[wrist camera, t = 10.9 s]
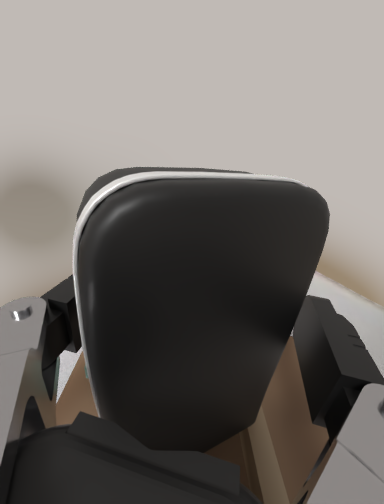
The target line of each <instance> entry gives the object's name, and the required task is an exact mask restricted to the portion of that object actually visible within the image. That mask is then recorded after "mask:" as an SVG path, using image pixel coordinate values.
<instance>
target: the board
mask: <svg viewBox="0 0 384 504" xmlns="http://www.w3.org/2000/svg"><path fill="white" fill-rule="evenodd" d="M80 411H82V412H85V413H87V414H90V415H93V416H96V417H98V413H97V410H96V406H95V402H94V398H93V394H92V390H91V386H90V382H89V378H88V373H87V368H86V363H85V358H84V353H83V351H82V353H81V355H80V357H79V359H78V361H77V363H76V365H75V367H74V369H73V371H72V373H71V375H70V377H69V380H68V382H67V384H66V386H65V388H64V390H63V392H62V394H61V396H60V398H59V400H58V402H57V404H56V424H57V426H58V425H64V424H72V423H73V421H74V420H75V418H76V416H77V415H78V413H79V412H80ZM328 439H329V435H328V432H327V428H324V427H321V426H318V425H314V424H312V420H311V416H310V411H309V407H308V402H307V398H306V393H305V389H304V384H303V380H302V375H301V371H300V366H299V362H298V357H297V353H296V349H295V344H294V339H293V337H292V336H290V337H289V339H288V342H287V344H286V346H285V349H284V351H283V353H282V356H281V358H280V360H279V363H278V365H277V367H276V370H275V372H274V374H273V376H272V379H271V381H270V383H269V386H268V388H267V391H266V393H265V396H264V399H263V401H262V404H261V407H260V410H259V412H258V415H257V418H256V421H255V423H254V424H252V425H251V426H250V427H248V428H246V429H244V430H243V431H241V432H239V433H238V434H236V435H234V436H233V437H231V438H229V439H227V440H226V441H224V442H222V443H220V444H219V445H217V446H215V447H213V448H212V449H210V450H208V451H207V452H205V453H204V454H207V455H210V456H213V457H216V458H219V459H222V460H225V461H228V462H230V463H233V464H236V465H239V466H240V483H242V484H243V485H244V486H246V487H247V488H248V489H249V490H250V491H251V492H252V493H253V494H255V495H256V496H257V497H258V498H259V500H260V501H261V502H262V503H263V504H291V503H292V502H293V500H294V498H295V497H296V495H297V493H298V492H299V490H300V488H301V486H302V484H303V483H304V481H305V479H306V477H307V475H308V474H309V472H310V470H311V468H312V466H313V465H314V463H315V461H316V459H317V457H318V456H319V454H320V452H321V450H322V448H323V447H324V445H325V443H326V441H327V440H328Z"/></svg>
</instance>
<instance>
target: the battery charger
mask: <svg viewBox="0 0 384 504" xmlns="http://www.w3.org/2000/svg"><path fill="white" fill-rule="evenodd" d="M329 216H330V213H329V210H328V206H327V202H326V201H325V199H324V198H323V197H322V196H321V195H320V194H319V193H318V192H317V191H316V190H314V189H312V188H309V187H308V186H307V185H306V184H304V183H303V182H301V181H298V180H295V179H291V178H286V177H281V176H271V175H259V174H252V173H248V172H241V171H229V170H216V169H204V168H164V167H160V168H159V167H133V168H125V169H116V170H114V171H111V172H109V173H107V174H105V175H103V176H101V177H99V178H98V179H97V180H96V181H95V182H94V183H93V184H92V185H91V186H90V187H89V188H88V189H87V191H86V192H85V194H84V197H83V200H82V202H81V205H80V208H79V210H78V213H77V224H76V228H75V231H74V237H73V279H74V288H75V297H76V306H77V313H78V321H79V328H80V335H81V341H82V348H83V353H84V358H85V363H86V368H87V373H88V378H89V382H90V386H91V390H92V394H93V398H94V402H95V406H96V410H97V413H98V417H99V418H102V419H105V420H108V421H111V422H114V423H116V424H117V425H119V426H120V427H121V428H122V429H124V430H125V431H126V432H128V433H129V434H130V435H131V436H133V437H134V438H135V439H137V440H138V441H139V442H140V443H142V444H143V445H144V446H145V447H147V448H148V449H151V450H157V451H198V452H201V453H205V452H207V451H208V450H210V449H212V448H213V447H215V446H217V445H219V444H220V443H222V442H224V441H226V440H227V439H229V438H231V437H233V436H234V435H236V434H238V433H239V432H241V431H243V430H244V429H246V428H248V427H250V426H251V425H252V424H254V423H255V421H256V418H257V415H258V412H259V410H260V407H261V404H262V401H263V399H264V396H265V393H266V391H267V388H268V386H269V383H270V381H271V379H272V376H273V374H274V372H275V370H276V367H277V365H278V363H279V360H280V358H281V356H282V353H283V351H284V349H285V346H286V344H287V342H288V339H289V337H290V334H291V332H292V330H293V327H294V325H295V322H296V320H297V317H298V315H299V312H300V310H301V307H302V305H303V302H304V299H305V297H306V294H307V292H308V289H309V286H310V284H311V281H312V278H313V275H314V273H315V270H316V267H317V265H318V262H319V259H320V256H321V253H322V251H323V247H324V244H325V241H326V237H327V234H328V229H329Z"/></svg>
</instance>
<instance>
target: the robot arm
mask: <svg viewBox="0 0 384 504" xmlns="http://www.w3.org/2000/svg"><path fill="white" fill-rule="evenodd" d="M293 339H294V344H295V349H296V353H297V357H298V362H299V366H300V371H301V375H302V380H303V384H304V389H305V393H306V398H307V402H308V407H309V411H310V416H311V420H312V424H314V425H318V426H321V427H324V428H327V432H328V435H329V439H328V440H327V441H326V443H325V445H324V447H323V448H322V450H321V452H320V454H319V456H318V457H317V459H316V461H315V463H314V465H313V466H312V468H311V470H310V472H309V474H308V475H307V477H306V479H305V481H304V483H303V484H302V486H301V488H300V490H299V492H298V493H297V495H296V497H295V498H294V500H293V502H292V503H291V504H384V378H383V376H382V375H381V373H380V371H379V369H378V368H377V366H376V364H375V362H374V361H373V359H372V357H371V356H370V354H369V352H368V350H366V349H365V345H364V343H363V342H362V340H361V339H360V336H359V335H358V333H357V331H356V329H355V328H354V326H353V325H352V324H351V323H350V322H349V321H348V320H347V319H346V318H345V317H344V316H342V315H340V314H337V313H336V311H335V309H334V308H333V306H332V304H331V302H330V300H329V299H325V298H320V297H315V296H310V295H307V296H306V297H305V299H304V302H303V305H302V307H301V310H300V312H299V315H298V317H297V320H296V322H295V325H294V329H293ZM81 347H82V341H81V335H80V328H79V321H78V313H77V306H76V297H75V288H74V279H73V275H71V276H70V277H68V279H65V280H64V281H62V282H61V283H60V284H58V285H57V286H56V287H54V288H53V289H51V290H50V291H48V292H47V293H46V294H44V295H43V296H41V297H40V298H39V297H24V298H20V299H17V300H13V301H11V302H9V303H7V304H5V305H3V306H2V307H1V308H0V504H263V503H262V502H261V501H260V500H259V498H258V497H257V496H256V495H255V494H253V493H252V492H251V491H250V490H249V489H248V488H247V487H246V486H244V485H243V484H242V483H240V466H239V465H236V464H233V463H230V462H228V461H225V460H222V459H219V458H216V457H213V456H210V455H207V454H204V453H201V452H198V451H157V450H151V449H148V448H147V447H145V446H144V445H143V444H142V443H140V442H139V441H138V440H137V439H135V438H134V437H133V436H131V435H130V434H129V433H128V432H126V431H125V430H124V429H122V428H121V427H120V426H119V425H117V424H116V423H114V422H111V421H108V420H105V419H102V418H99V417H96V416H93V415H90V414H87V413H85V412H82V411H80V412H79V413H78V415H77V416H76V418H75V420H74V421H73V423H72V424H64V425H58V426H57V424H56V397H57V387H58V376H59V366H60V357H59V355H60V354H61V353H62V352H63V351H64V350H67V351H71V352H74V353H77V352H78V350H79V349H80V348H81Z"/></svg>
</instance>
